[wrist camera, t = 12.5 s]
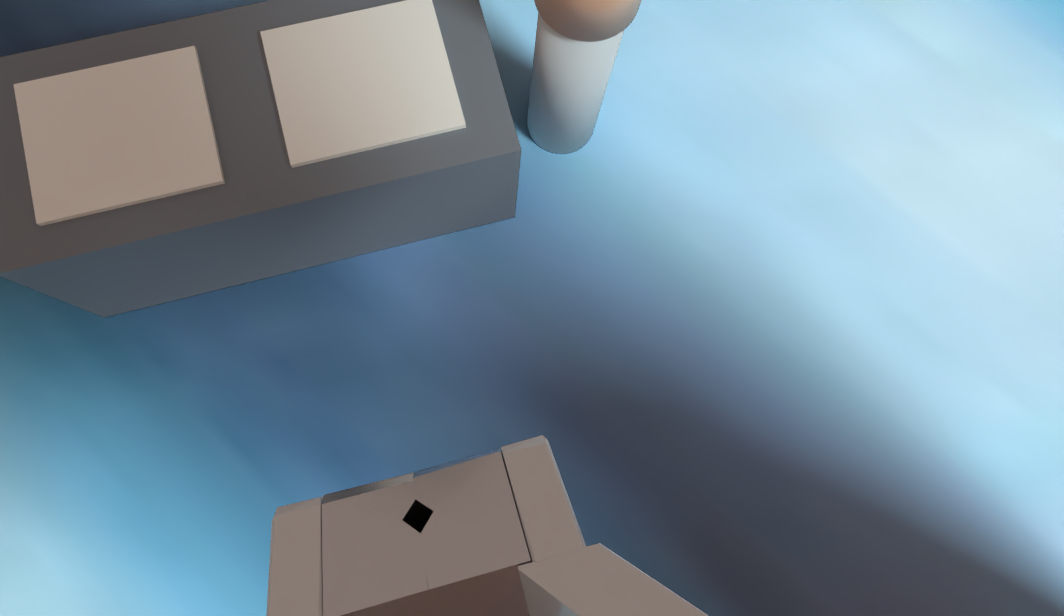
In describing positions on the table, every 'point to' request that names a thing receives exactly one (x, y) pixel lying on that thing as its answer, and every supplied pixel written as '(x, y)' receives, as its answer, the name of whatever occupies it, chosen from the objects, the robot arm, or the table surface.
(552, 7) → the swing arm
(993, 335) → the table surface
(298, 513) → the robot arm
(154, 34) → the box
